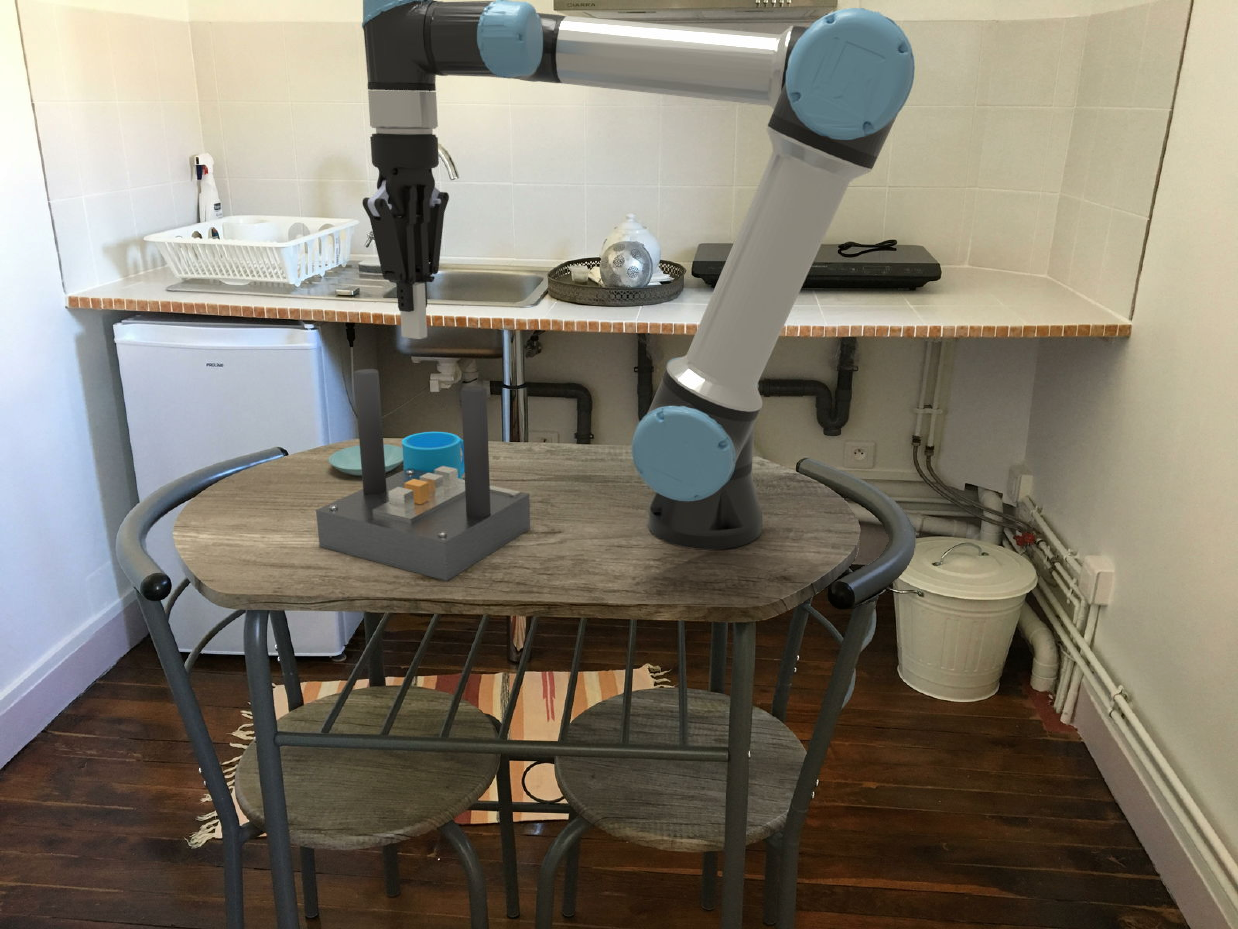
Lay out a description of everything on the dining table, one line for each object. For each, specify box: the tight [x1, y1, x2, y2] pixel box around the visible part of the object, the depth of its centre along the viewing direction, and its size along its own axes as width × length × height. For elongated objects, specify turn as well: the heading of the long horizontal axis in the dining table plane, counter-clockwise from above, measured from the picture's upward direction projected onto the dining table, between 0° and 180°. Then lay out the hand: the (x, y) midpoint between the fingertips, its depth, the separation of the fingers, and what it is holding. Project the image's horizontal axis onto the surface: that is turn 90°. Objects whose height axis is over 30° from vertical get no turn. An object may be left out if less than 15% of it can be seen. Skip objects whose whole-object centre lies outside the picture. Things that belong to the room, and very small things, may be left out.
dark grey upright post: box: [353, 368, 387, 494], centre depth 130 cm, size 3×3×16 cm
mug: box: [401, 431, 465, 479], centre depth 146 cm, size 12×8×8 cm
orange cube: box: [404, 479, 430, 504], centre depth 127 cm, size 2×2×2 cm
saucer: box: [328, 443, 403, 477], centre depth 155 cm, size 12×12×2 cm
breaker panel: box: [315, 466, 531, 582], centre depth 130 cm, size 20×18×8 cm
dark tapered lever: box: [460, 385, 491, 519], centre depth 123 cm, size 3×3×16 cm
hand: (414, 336), depth 122 cm, fingers closed
